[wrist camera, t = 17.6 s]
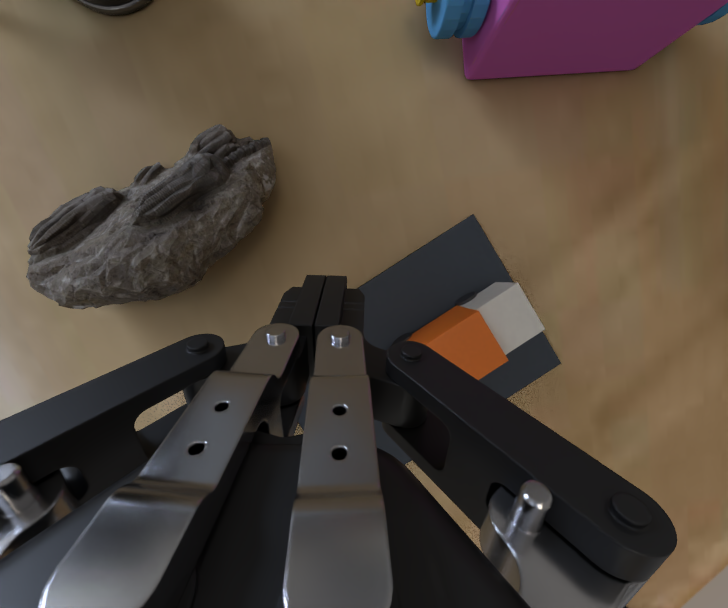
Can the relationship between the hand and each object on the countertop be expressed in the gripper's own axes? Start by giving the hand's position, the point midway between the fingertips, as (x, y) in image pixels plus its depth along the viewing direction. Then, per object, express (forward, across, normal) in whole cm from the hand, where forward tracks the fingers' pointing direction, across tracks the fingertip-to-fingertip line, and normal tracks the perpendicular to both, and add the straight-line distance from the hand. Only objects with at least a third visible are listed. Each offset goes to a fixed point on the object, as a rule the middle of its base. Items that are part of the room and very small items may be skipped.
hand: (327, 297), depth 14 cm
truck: (+12, -5, +15) cm, 20 cm away
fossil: (+21, +16, +4) cm, 27 cm away
